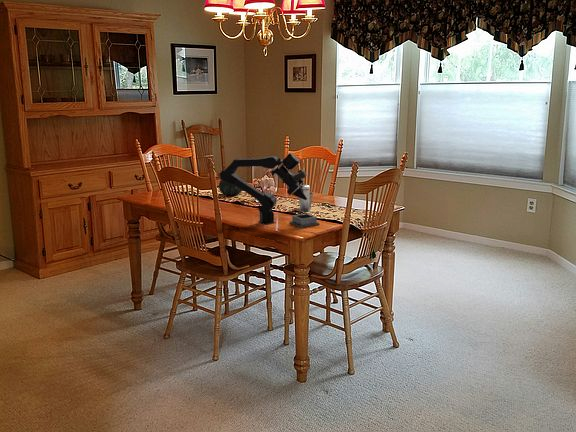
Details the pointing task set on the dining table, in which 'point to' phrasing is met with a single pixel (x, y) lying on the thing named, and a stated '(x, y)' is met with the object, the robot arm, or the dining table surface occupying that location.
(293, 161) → the robot arm
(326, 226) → the dining table surface
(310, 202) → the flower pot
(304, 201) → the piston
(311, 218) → the grey square tray
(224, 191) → the squash
